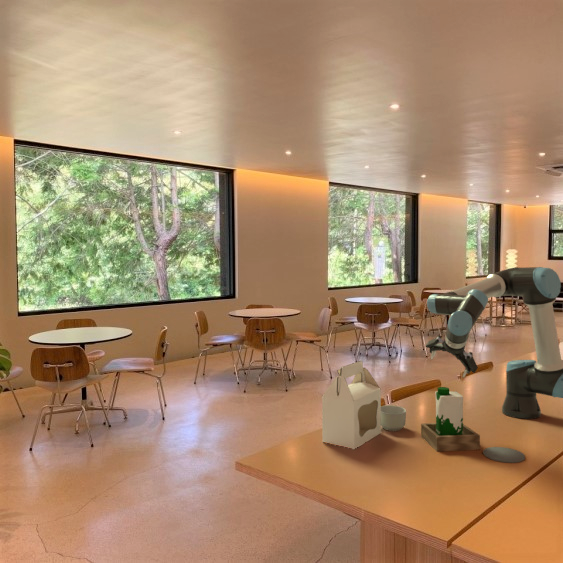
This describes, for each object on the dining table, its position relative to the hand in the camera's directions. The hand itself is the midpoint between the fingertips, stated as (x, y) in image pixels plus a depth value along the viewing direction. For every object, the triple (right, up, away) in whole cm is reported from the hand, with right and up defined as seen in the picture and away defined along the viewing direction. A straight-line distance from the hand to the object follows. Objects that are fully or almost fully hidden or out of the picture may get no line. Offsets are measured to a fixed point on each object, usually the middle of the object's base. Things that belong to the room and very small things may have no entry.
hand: (448, 365), depth 204 cm
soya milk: (-5, -26, -16) cm, 31 cm away
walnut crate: (-5, -25, -16) cm, 31 cm away
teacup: (-24, -25, +1) cm, 35 cm away
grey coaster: (+9, -26, -29) cm, 40 cm away
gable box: (-39, -26, -9) cm, 48 cm away
